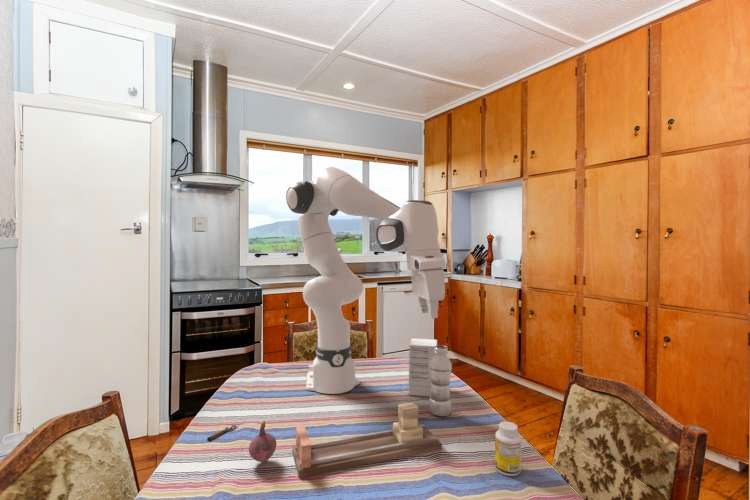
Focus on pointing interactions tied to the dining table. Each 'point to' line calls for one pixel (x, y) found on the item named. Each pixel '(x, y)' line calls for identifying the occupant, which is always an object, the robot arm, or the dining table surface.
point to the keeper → (407, 424)
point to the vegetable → (262, 445)
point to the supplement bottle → (508, 449)
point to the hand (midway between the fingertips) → (429, 315)
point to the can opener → (221, 432)
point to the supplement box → (420, 366)
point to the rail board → (355, 450)
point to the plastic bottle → (440, 382)
